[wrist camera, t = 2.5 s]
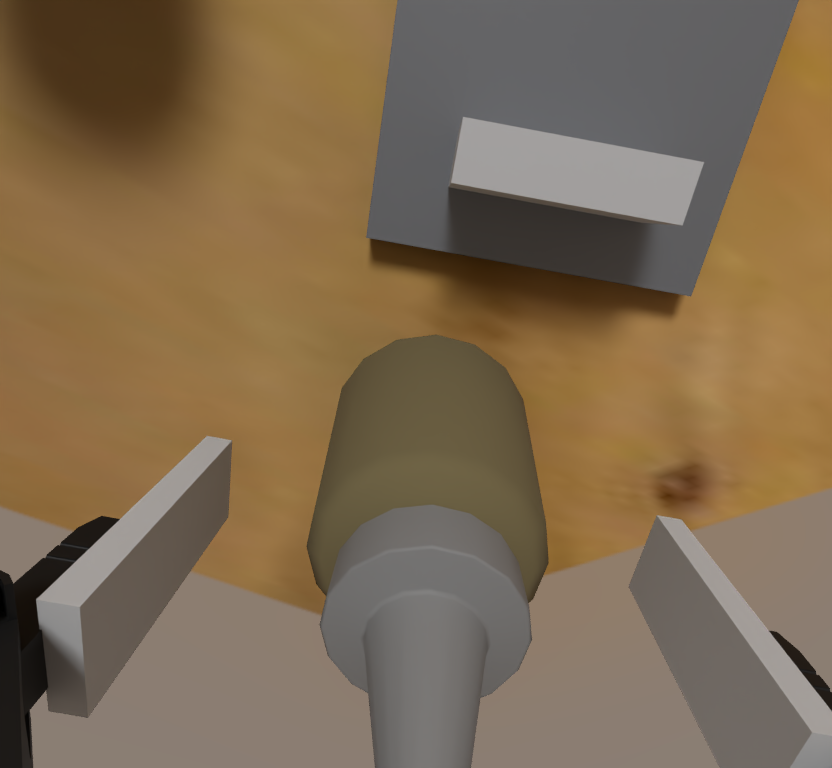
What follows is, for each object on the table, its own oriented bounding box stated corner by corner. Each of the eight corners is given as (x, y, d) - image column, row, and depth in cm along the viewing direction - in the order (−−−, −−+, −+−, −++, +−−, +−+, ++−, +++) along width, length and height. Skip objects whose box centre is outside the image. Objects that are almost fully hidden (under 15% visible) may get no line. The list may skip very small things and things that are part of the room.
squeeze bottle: (523, 320, 23) (783, 651, 6) (503, 473, 25) (640, 1002, 8) (349, 310, 23) (103, 603, 6) (348, 463, 26) (178, 965, 9)
